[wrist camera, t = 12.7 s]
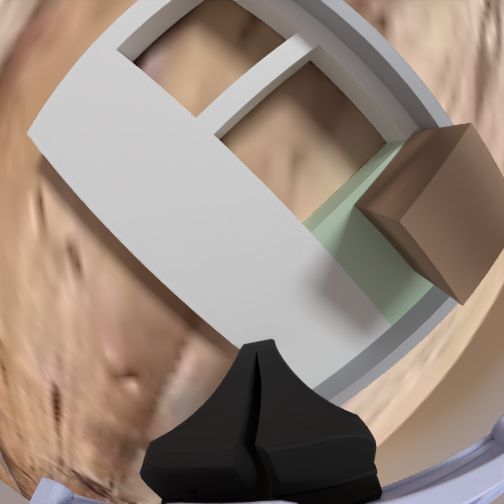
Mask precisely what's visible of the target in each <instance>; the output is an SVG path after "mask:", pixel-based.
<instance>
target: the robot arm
mask: <svg viewBox="0 0 504 504" xmlns="http://www.w3.org/2000/svg"><path fill="white" fill-rule="evenodd" d="M375 453H376V441H375V439H374V437H373V435H372V433H371V432H370V430H369V429H368V427H367V426H366V425H365V423H364V422H363V421H362V420H361V419H360V417H359V416H358V415H356V414H354V413H351V412H349V411H346V410H344V409H342V408H340V407H338V406H336V405H335V404H333V403H331V402H329V401H328V400H326V399H325V398H323V397H322V396H320V395H319V394H317V393H316V392H315V391H313V390H312V389H311V388H310V387H308V386H307V385H306V384H305V383H304V382H303V381H302V380H301V379H300V378H299V377H298V376H297V375H296V374H295V373H294V372H293V371H292V369H291V368H290V367H289V366H288V364H287V363H286V362H285V360H284V359H283V357H282V356H281V354H280V353H279V351H278V349H277V347H276V343H275V340H273V339H267V340H262V341H257V342H252V343H247V344H243V346H242V347H241V349H240V351H239V353H238V355H237V357H236V359H235V361H234V363H233V365H232V366H231V368H230V370H229V372H228V373H227V375H226V376H225V378H224V379H223V381H222V382H221V384H220V385H219V387H218V388H217V389H216V391H215V392H214V393H213V394H212V396H211V397H210V398H209V399H208V400H207V401H206V402H205V403H204V404H203V405H202V406H201V407H200V408H199V409H198V410H197V411H196V412H195V413H194V414H193V415H191V416H190V417H189V418H188V419H187V420H185V421H184V422H183V423H181V424H180V425H178V426H177V427H176V428H174V429H173V430H171V431H170V432H168V433H166V434H164V435H163V436H161V437H159V438H157V439H156V440H154V441H152V442H150V444H149V447H148V449H147V451H146V455H145V458H144V461H143V464H142V468H141V471H140V475H141V478H142V480H143V481H144V482H145V483H146V485H148V486H149V487H150V488H151V489H152V490H153V491H154V492H155V493H156V494H157V495H158V496H159V497H160V498H162V502H161V504H489V503H490V502H492V501H493V500H494V499H496V498H497V497H498V496H500V495H501V494H502V493H503V492H504V415H503V416H502V417H501V418H499V420H498V421H497V422H496V423H495V425H494V426H493V429H492V431H491V433H490V434H488V435H487V436H485V437H484V438H482V439H481V440H479V441H478V442H476V443H474V444H473V445H471V446H469V447H468V448H466V449H464V450H463V451H461V452H459V453H457V454H456V455H454V456H452V457H450V458H448V459H446V460H444V461H442V462H440V463H438V464H436V465H434V466H432V467H430V468H428V469H426V470H424V471H421V472H419V473H417V474H415V475H412V476H410V477H408V478H405V479H403V480H400V481H398V482H395V483H392V484H390V485H387V486H384V487H381V486H380V483H379V480H378V477H377V475H376V474H377V469H376V466H375V464H374V460H375ZM29 504H111V503H106V502H102V501H98V500H94V499H91V498H87V497H84V496H80V495H77V494H74V493H73V492H72V491H71V490H70V489H69V488H67V487H66V486H65V485H63V484H62V483H60V482H57V481H54V480H52V479H49V478H46V477H42V479H41V481H40V483H39V485H38V487H37V488H36V490H35V492H34V494H33V496H32V498H31V500H30V503H29Z"/></svg>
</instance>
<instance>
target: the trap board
mask: <svg viewBox="0 0 504 504" xmlns="http://www.w3.org/2000/svg"><path fill="white" fill-rule="evenodd" d="M203 1H204V0H138V1H137V2H136V3H135V4H134V5H133V6H131V7H130V8H129V9H128V10H127V11H126V12H125V13H124V14H122V15H121V16H120V17H119V18H118V19H117V20H116V21H115V22H114V23H113V24H112V25H111V26H110V27H109V28H108V29H107V30H106V31H105V32H104V33H103V34H102V35H101V36H100V37H99V38H98V39H97V40H96V41H95V42H94V43H93V44H92V45H91V47H90V48H89V49H88V50H87V51H86V52H85V53H84V54H83V56H82V57H81V58H80V59H79V60H78V61H77V63H76V64H75V65H74V66H73V67H72V69H71V70H70V71H69V72H68V74H67V75H66V76H65V77H64V79H63V80H62V81H61V83H60V84H59V85H58V87H57V88H56V89H55V91H54V92H53V94H52V95H51V96H50V98H49V99H48V101H47V102H46V104H45V105H44V107H43V108H42V110H41V111H40V113H39V114H38V116H37V118H36V119H35V121H34V122H33V124H32V126H31V127H30V129H29V131H28V132H27V134H28V136H29V137H30V138H31V140H32V141H33V142H34V143H35V145H36V146H37V147H38V149H39V150H40V151H41V152H42V154H43V155H44V156H45V157H46V159H47V160H48V161H49V162H50V164H51V165H52V166H53V167H54V168H55V170H56V171H57V172H58V173H59V174H60V176H61V177H62V178H63V179H64V180H65V182H66V183H67V184H68V185H69V186H70V187H71V188H72V190H73V191H74V192H75V193H76V194H77V195H78V196H79V198H80V199H81V200H82V201H83V202H84V203H85V204H86V205H87V207H88V208H89V209H90V210H91V211H92V212H93V213H94V214H95V215H96V216H97V217H98V219H99V220H100V221H101V222H102V223H103V224H104V225H105V226H106V227H107V228H108V229H109V230H110V231H111V232H112V233H113V234H114V235H115V236H116V237H117V238H118V240H119V241H120V242H121V243H122V244H123V245H124V246H125V247H126V248H127V249H128V250H129V251H130V252H131V253H132V254H133V255H134V256H135V257H136V258H137V259H138V260H139V261H140V262H141V263H142V264H144V265H145V266H146V267H147V268H148V269H149V270H150V271H151V272H152V273H153V274H154V275H155V276H156V277H157V278H158V279H159V280H160V281H161V282H162V283H163V284H165V285H166V286H167V287H168V288H169V289H170V290H171V291H172V292H173V293H174V294H175V295H176V296H178V297H179V298H180V299H181V300H182V301H183V302H184V303H185V304H186V305H188V306H189V307H190V308H191V309H192V310H193V311H194V312H196V313H197V314H198V315H199V316H200V317H201V318H202V319H204V320H205V321H206V322H207V323H208V324H209V325H211V326H212V327H213V328H214V329H215V330H216V331H218V332H219V333H220V334H221V335H222V336H224V337H225V338H226V339H227V340H229V341H230V342H231V343H232V344H233V345H235V346H236V347H237V348H238V349H241V347H242V346H243V344H247V343H252V342H257V341H262V340H267V339H273V340H275V343H276V347H277V349H278V351H279V353H280V354H281V356H282V357H283V359H284V360H285V362H286V363H287V364H288V366H289V367H290V368H291V369H292V371H293V372H294V373H295V374H296V375H297V376H298V377H299V378H300V379H301V380H302V381H303V382H304V383H305V384H306V385H307V386H308V387H310V388H311V389H312V390H313V391H315V392H316V393H317V394H319V395H320V396H322V397H323V398H325V399H326V400H328V401H329V402H331V403H333V404H335V405H336V406H338V407H339V406H340V405H342V404H343V403H345V402H346V401H347V400H349V399H350V398H352V397H353V396H354V395H356V394H357V393H359V392H360V391H361V390H363V389H364V388H365V387H367V386H368V385H369V384H371V383H372V382H373V381H375V380H376V379H377V378H378V377H380V376H381V375H382V374H383V373H385V372H386V371H387V370H388V369H390V368H391V367H392V366H393V365H394V364H396V363H397V362H398V361H399V360H400V359H401V358H403V357H404V356H405V355H406V354H407V353H408V352H409V351H411V350H412V349H413V348H414V347H415V346H416V345H417V344H418V343H419V342H420V341H422V340H423V339H424V338H425V337H426V336H427V335H428V334H429V333H430V332H431V331H432V330H433V329H434V328H435V327H436V326H437V325H438V324H439V323H440V322H441V321H442V320H443V319H444V318H445V317H446V316H447V315H448V314H449V313H450V312H451V311H452V310H453V309H454V307H455V306H456V305H457V304H458V302H457V301H456V300H454V299H453V298H452V297H450V296H449V295H447V294H446V293H445V292H443V291H442V290H441V289H439V288H438V287H436V286H435V285H434V284H432V283H431V282H429V281H428V280H427V279H425V278H424V277H422V276H421V275H419V274H418V273H417V272H415V271H414V270H413V269H412V268H411V267H410V266H409V264H408V263H407V262H406V261H405V260H404V258H403V257H402V256H401V255H400V254H399V253H398V252H397V250H396V249H395V248H394V247H393V246H392V245H391V244H390V243H389V241H388V240H387V239H386V238H385V237H384V236H383V235H382V234H381V233H380V232H379V230H378V229H377V228H376V227H375V226H374V225H373V224H372V223H371V222H370V221H369V220H368V219H367V218H366V217H365V216H364V215H363V213H362V212H361V211H360V210H359V209H358V208H357V207H356V206H355V205H354V204H355V203H356V202H357V200H358V199H359V198H360V197H361V196H362V195H363V193H364V192H365V191H366V190H367V189H368V188H369V186H370V185H371V184H372V183H373V182H374V180H375V179H376V178H377V177H378V176H379V174H380V173H381V172H382V171H383V170H384V168H385V167H386V166H387V165H388V164H389V162H390V161H391V160H392V159H393V158H394V156H395V155H396V154H397V153H398V151H399V150H400V149H401V148H402V146H403V145H404V144H405V143H406V142H407V140H408V139H409V138H410V137H411V135H412V134H413V133H414V132H417V131H423V130H429V129H434V128H440V127H447V126H453V125H454V124H453V123H452V121H451V120H450V118H449V117H448V115H447V114H446V112H445V111H444V109H443V108H442V107H441V105H440V104H439V102H438V101H437V100H436V98H435V97H434V95H433V94H432V93H431V91H430V90H429V89H428V88H427V86H426V85H425V84H424V82H423V81H422V80H421V79H420V77H419V76H418V75H417V74H416V73H415V71H414V70H413V69H412V68H411V67H410V65H409V64H408V63H407V62H406V61H405V60H404V59H403V57H402V56H401V55H400V54H399V53H398V52H397V51H396V50H395V49H394V48H393V47H392V46H391V44H390V43H389V42H388V41H387V40H386V39H385V38H384V37H383V36H382V35H381V34H380V33H379V32H378V31H377V30H376V29H375V28H373V27H372V26H371V25H370V24H369V23H368V22H367V21H366V20H365V19H364V18H363V17H362V16H360V15H359V14H358V13H357V12H356V11H355V10H354V9H352V8H351V7H350V6H349V5H348V4H346V3H345V2H344V1H343V0H233V1H234V2H236V3H237V4H239V5H240V6H242V7H243V8H245V9H246V10H248V11H249V12H251V13H252V14H253V15H255V16H256V17H258V18H259V19H260V20H262V21H263V22H264V23H266V24H267V25H268V26H270V27H271V28H272V29H273V30H275V31H276V32H277V33H279V34H280V35H281V36H282V37H284V38H285V39H286V40H287V41H285V42H284V43H283V44H281V45H280V46H279V47H277V48H276V49H275V50H273V51H272V52H271V53H269V54H268V55H267V56H266V57H264V58H263V59H262V60H261V61H259V62H258V63H257V64H256V65H254V66H253V67H252V68H251V69H250V70H248V71H247V72H246V73H245V74H244V75H242V76H241V77H240V78H239V79H238V80H237V81H235V82H234V83H233V84H232V85H231V86H230V87H229V88H228V89H226V90H225V91H224V92H223V93H222V94H221V95H220V96H219V97H218V98H217V99H216V100H214V101H213V102H212V103H211V104H210V105H209V106H208V107H207V108H206V109H205V110H204V111H203V112H202V113H201V114H200V115H199V116H198V117H197V118H195V117H194V116H193V115H192V114H191V113H190V112H189V111H188V110H186V109H185V108H184V107H183V106H182V105H181V104H180V103H179V102H178V101H176V100H175V99H174V98H173V97H172V96H171V95H170V94H169V93H167V92H166V91H165V90H164V89H163V88H162V87H160V86H159V85H158V84H157V83H156V82H155V81H154V80H152V79H151V78H150V77H149V76H148V75H146V74H145V73H144V72H143V71H142V70H141V69H139V68H138V67H137V66H136V65H135V64H133V63H132V62H133V61H134V60H135V59H136V58H137V57H138V56H139V55H140V54H141V53H142V52H143V51H144V50H145V49H146V48H147V47H148V46H150V45H151V44H152V43H153V42H154V41H155V40H156V39H157V38H158V37H159V36H160V35H162V34H163V33H164V32H165V31H166V30H167V29H169V28H170V27H171V26H172V25H173V24H174V23H176V22H177V21H178V20H179V19H181V18H182V17H183V16H184V15H186V14H187V13H188V12H189V11H191V10H192V9H193V8H195V7H196V6H197V5H199V4H200V3H201V2H203ZM309 61H311V62H312V63H314V64H315V65H316V66H317V67H318V68H319V69H320V70H321V71H322V72H323V73H324V74H325V75H326V76H327V77H328V78H329V79H330V80H331V81H332V82H333V83H334V84H335V85H336V86H337V87H338V88H339V89H340V90H341V91H342V92H343V93H344V94H345V95H346V96H347V97H348V98H349V99H350V100H351V101H352V103H353V104H354V105H355V106H356V107H357V108H358V109H359V110H360V111H361V113H362V114H363V115H364V116H365V117H366V118H367V119H368V121H369V122H370V123H371V124H372V125H373V126H374V128H375V129H376V130H377V131H378V133H379V134H380V135H381V136H382V137H383V139H384V140H385V141H386V142H387V143H386V144H385V145H384V146H383V147H382V148H381V149H380V150H379V151H378V152H377V153H376V154H375V155H374V156H373V157H372V158H371V159H370V160H369V161H368V162H367V163H366V164H365V165H363V166H362V167H361V168H360V169H359V170H358V171H357V172H356V173H355V174H354V175H353V176H352V177H351V178H350V179H349V180H348V181H347V182H346V183H345V184H344V185H343V186H342V187H341V188H340V189H339V190H337V191H336V192H335V193H334V194H333V195H332V196H331V197H330V198H329V199H328V200H327V201H326V202H325V203H324V204H323V205H322V206H321V207H320V208H319V209H318V210H317V211H315V212H314V213H313V214H312V215H311V216H310V217H309V218H308V219H307V220H306V221H305V222H304V223H303V224H302V223H301V222H300V221H299V220H298V219H297V217H296V216H295V215H294V214H293V213H292V212H291V211H290V210H289V209H288V208H287V207H286V206H285V205H284V204H283V203H282V202H281V201H280V200H279V199H278V198H277V197H276V196H275V195H274V193H273V192H272V191H271V190H270V189H269V188H268V187H267V186H266V185H265V184H264V183H263V182H262V181H261V180H260V179H259V178H258V177H257V176H256V175H255V174H254V173H253V172H252V171H251V170H250V169H249V168H248V167H247V166H246V165H245V164H244V163H243V162H242V161H241V160H240V159H239V158H238V157H237V156H235V155H234V154H233V153H232V152H231V151H230V150H229V149H228V148H227V147H226V146H225V145H224V144H223V143H222V142H221V141H220V139H221V138H222V137H223V136H224V135H225V134H226V133H227V132H228V131H229V130H230V129H231V128H232V127H233V126H234V125H235V124H236V123H238V122H239V121H240V120H241V119H242V118H243V117H244V116H245V115H246V114H247V113H248V112H249V111H251V110H252V109H253V108H254V107H255V106H256V105H257V104H258V103H259V102H261V101H262V100H263V99H264V98H265V97H266V96H267V95H269V94H270V93H271V92H272V91H273V90H274V89H276V88H277V87H278V86H279V85H280V84H282V83H283V82H284V81H285V80H286V79H288V78H289V77H290V76H291V75H292V74H294V73H295V72H296V71H297V70H299V69H300V68H301V67H302V66H304V65H305V64H306V63H308V62H309Z"/></svg>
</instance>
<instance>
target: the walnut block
mask: <svg viewBox="0 0 504 504" xmlns="http://www.w3.org/2000/svg"><path fill="white" fill-rule="evenodd" d="M354 205H355V206H356V207H357V208H358V209H359V210H360V211H361V212H362V213H363V215H364V216H365V217H366V218H367V219H368V220H369V221H370V222H371V223H372V224H373V225H374V226H375V227H376V228H377V229H378V230H379V232H380V233H381V234H382V235H383V236H384V237H385V238H386V239H387V240H388V241H389V243H390V244H391V245H392V246H393V247H394V248H395V249H396V250H397V252H398V253H399V254H400V255H401V256H402V257H403V258H404V260H405V261H406V262H407V263H408V264H409V266H410V267H411V268H412V269H413V270H414V271H415V272H417V273H418V274H419V275H421V276H422V277H424V278H425V279H427V280H428V281H429V282H431V283H432V284H434V285H435V286H436V287H438V288H439V289H441V290H442V291H443V292H445V293H446V294H447V295H449V296H450V297H452V298H453V299H454V300H456V301H457V302H458V303H460V304H461V305H462V306H463V305H464V303H465V302H466V301H467V300H468V298H469V297H470V296H471V294H472V293H473V292H474V290H475V289H476V288H477V286H478V285H479V284H480V282H481V281H482V280H483V278H484V277H485V275H486V274H487V273H488V271H489V270H490V268H491V267H492V265H493V264H494V262H495V261H496V259H497V258H498V256H499V255H500V253H501V251H502V250H503V248H504V178H503V176H502V174H501V172H500V170H499V168H498V166H497V164H496V163H495V161H494V159H493V157H492V155H491V154H490V152H489V150H488V149H487V147H486V145H485V144H484V142H483V140H482V139H481V137H480V136H479V134H478V133H477V131H476V129H475V128H474V126H473V125H472V124H471V123H467V124H460V125H453V126H447V127H440V128H434V129H429V130H423V131H417V132H414V133H413V134H412V135H411V137H410V138H409V139H408V140H407V142H406V143H405V144H404V145H403V146H402V148H401V149H400V150H399V151H398V153H397V154H396V155H395V156H394V158H393V159H392V160H391V161H390V162H389V164H388V165H387V166H386V167H385V168H384V170H383V171H382V172H381V173H380V174H379V176H378V177H377V178H376V179H375V180H374V182H373V183H372V184H371V185H370V186H369V188H368V189H367V190H366V191H365V192H364V193H363V195H362V196H361V197H360V198H359V199H358V200H357V202H356V203H355V204H354Z"/></svg>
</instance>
